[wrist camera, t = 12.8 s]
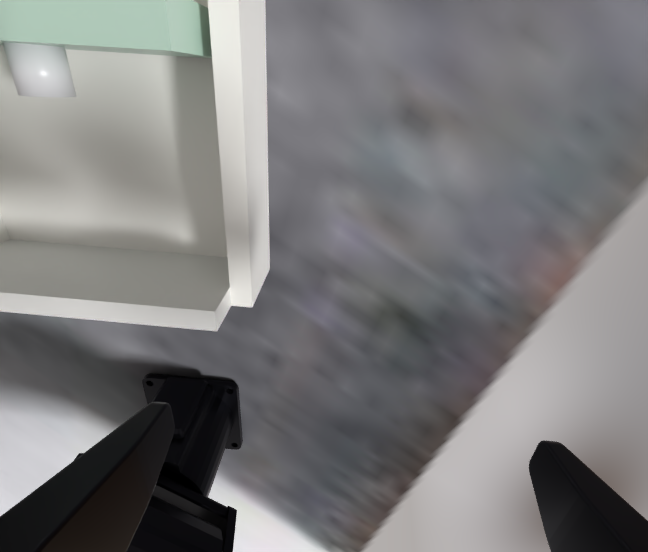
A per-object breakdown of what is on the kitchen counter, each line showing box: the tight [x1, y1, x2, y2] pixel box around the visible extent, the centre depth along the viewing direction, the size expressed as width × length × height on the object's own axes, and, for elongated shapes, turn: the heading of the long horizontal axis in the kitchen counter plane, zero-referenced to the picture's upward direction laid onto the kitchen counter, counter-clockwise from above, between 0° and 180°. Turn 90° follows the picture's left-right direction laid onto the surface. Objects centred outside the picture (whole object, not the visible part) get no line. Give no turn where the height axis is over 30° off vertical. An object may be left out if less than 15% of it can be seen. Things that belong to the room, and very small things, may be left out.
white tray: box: [0, 0, 270, 331], centre depth 13 cm, size 22×15×6 cm
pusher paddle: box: [0, 0, 212, 97], centre depth 13 cm, size 3×12×5 cm, turn 87°
